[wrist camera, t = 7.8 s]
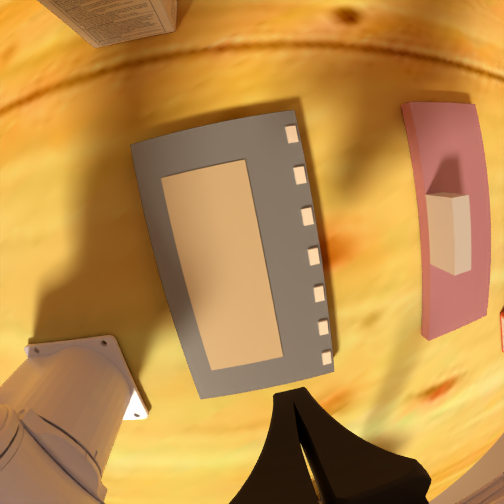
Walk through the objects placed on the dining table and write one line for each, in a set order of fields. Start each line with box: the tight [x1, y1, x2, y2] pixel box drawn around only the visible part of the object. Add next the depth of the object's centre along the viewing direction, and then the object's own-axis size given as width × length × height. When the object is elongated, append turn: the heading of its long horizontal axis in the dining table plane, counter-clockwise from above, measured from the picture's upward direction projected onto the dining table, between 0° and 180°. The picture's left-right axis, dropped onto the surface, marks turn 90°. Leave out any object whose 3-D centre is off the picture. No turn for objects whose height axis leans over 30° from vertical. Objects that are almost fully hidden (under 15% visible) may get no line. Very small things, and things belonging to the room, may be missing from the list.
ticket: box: [130, 110, 334, 399], centre depth 20 cm, size 10×18×1 cm, turn 11°
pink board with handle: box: [401, 102, 491, 341], centre depth 19 cm, size 7×18×4 cm, turn 11°
